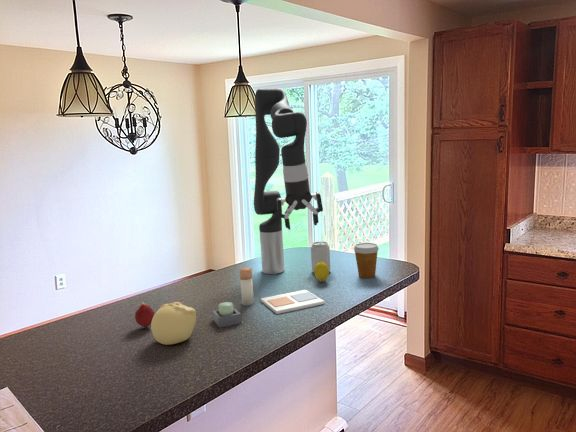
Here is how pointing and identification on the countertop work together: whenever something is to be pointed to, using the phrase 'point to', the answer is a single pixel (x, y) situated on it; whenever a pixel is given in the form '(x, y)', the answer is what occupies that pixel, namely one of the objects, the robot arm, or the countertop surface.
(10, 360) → the countertop surface
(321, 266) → the lemon
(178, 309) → the pale yellow lumpy ball
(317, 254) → the can
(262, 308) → the countertop surface
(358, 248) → the disposable coffee cup
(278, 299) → the picture board
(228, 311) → the button
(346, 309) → the countertop surface
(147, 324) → the onion
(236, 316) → the button housing
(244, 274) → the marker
